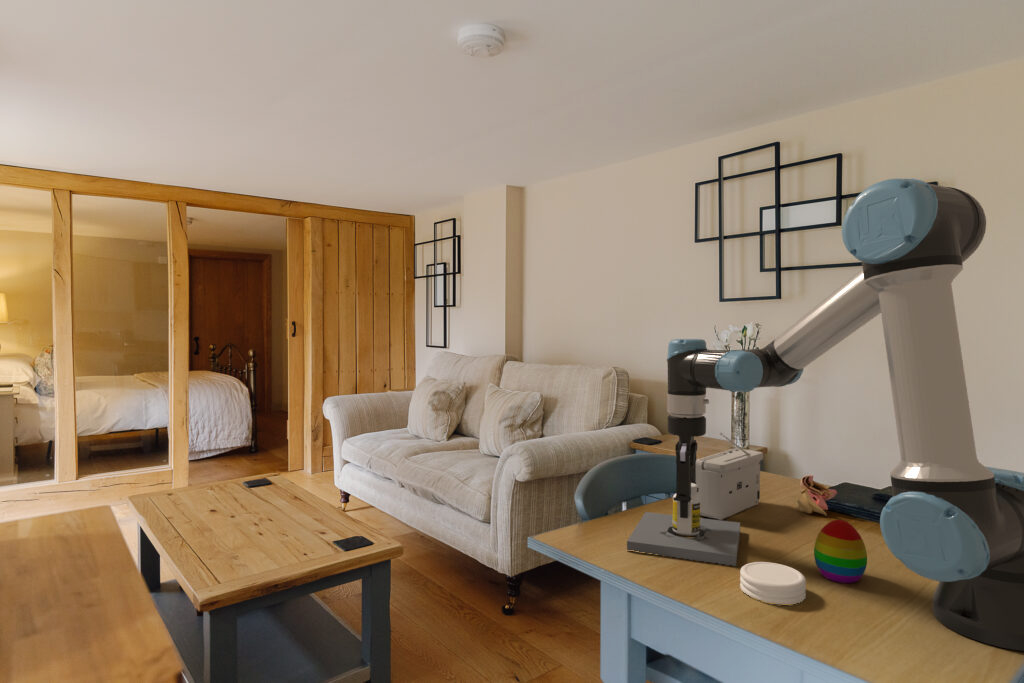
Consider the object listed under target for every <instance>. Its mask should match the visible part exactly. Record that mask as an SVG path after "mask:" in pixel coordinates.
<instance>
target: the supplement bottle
mask: <svg viewBox="0 0 1024 683" xmlns="http://www.w3.org/2000/svg"><path fill="white" fill-rule="evenodd" d="M696 492H697V485H696V484H694V483H691V501H692V534H684V533H677V501H674V497H675V498H676V493H675V494H673V496H672V515H673V523H672V524H673V525H672V527H673V531H674V532H675V533H677V534H680V535H679V536H688V537H689V536H690V537H695V536H694V535H697V534H699V532H700V518H701V516H700V497H699V496H698V495H696Z"/></svg>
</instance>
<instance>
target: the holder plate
mask: <svg viewBox="0 0 1024 683" xmlns="http://www.w3.org/2000/svg"><path fill="white" fill-rule="evenodd" d="M672 523H673V514H665V513H659V512H650V511H649V512H648V511H645V512H644V513H643V515H642V517H641V519H640V520H639V521H638V523H637V525H636V526H635V528H634V529H633V531H632V533H631V534H630V536H629V537H628V538H627V541H626V551H627V550H634V551H639V552H645V553H652V554H658V555H664V556H663V557H665V556H671V557H670V558H672V557H676V558H675V559H679V558H684V559H683V560H686V559H689V560H688V561H693V560H697V561H696V562H700V561H704V562H703V563H707V562H711V563H710V564H715V563H718V564H717V565H722V564H725V565H724V566H729V565H732V566H731V567H737V559H738V554H737V553H738V552H739V551H738V550H739V544H740V537H741V522H737V521H728V520H719V519H713V518H703V517H700V532H699V534H697V535H694V536H693V537H685V536H681V535H680V534H677V533H675V532H674V531H673V527H672V525H673V524H672Z"/></svg>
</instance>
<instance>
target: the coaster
mask: <svg viewBox="0 0 1024 683" xmlns="http://www.w3.org/2000/svg"><path fill="white" fill-rule="evenodd" d="M739 574H740V576H739V580H740V583H739V588H740V590H741V591H743V592H744V593H746V594H747V595H749V596H751V597H753V598H756V599H758V600H762V601H765V602H769V603H776V604H796V603H799V604H801V603H802V601H803V600H804V599H805V600H806V598H807V594H806V590H807V587H806V586H807V585H806V583H807V580H806V577H805V576H804V574H803V573H802V572H800V571H799V570H797V569H795V568H793V567H791V566H788V565H784V564H781V563H775V562H769V561H768V562H767V561H755V562H754V561H753V562H749V563H746V564H744V565H743V566H741V568H740V570H739ZM744 593H743V594H744ZM746 594H745V595H746ZM747 595H746V596H747ZM749 596H748V597H749ZM805 600H804V601H805ZM804 601H803V602H804ZM800 602H801V603H800ZM796 605H797V604H796Z"/></svg>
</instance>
